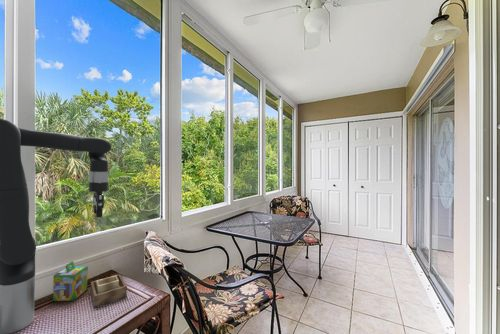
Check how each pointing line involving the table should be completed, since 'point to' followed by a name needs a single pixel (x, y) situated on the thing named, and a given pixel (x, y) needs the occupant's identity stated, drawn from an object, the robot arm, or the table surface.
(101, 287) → the pine crate
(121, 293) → the walnut crate
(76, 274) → the chalk box
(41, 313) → the table surface
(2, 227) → the robot arm
